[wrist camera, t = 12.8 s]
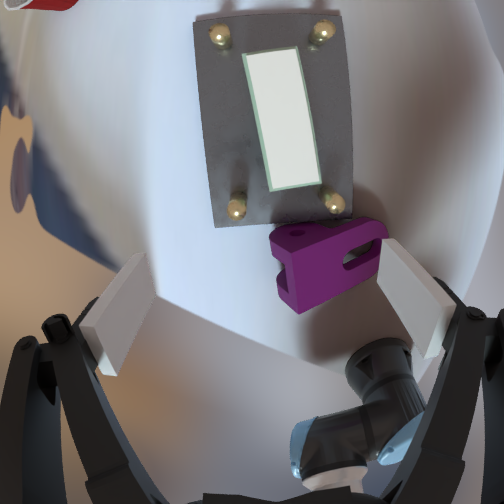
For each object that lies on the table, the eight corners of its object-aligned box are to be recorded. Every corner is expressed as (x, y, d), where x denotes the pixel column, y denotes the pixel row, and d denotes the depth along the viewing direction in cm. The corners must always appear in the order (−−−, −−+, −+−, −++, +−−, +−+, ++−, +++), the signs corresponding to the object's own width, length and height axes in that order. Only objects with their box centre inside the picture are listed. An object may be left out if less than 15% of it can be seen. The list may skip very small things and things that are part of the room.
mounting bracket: (352, 201, 48) (259, 233, 42) (389, 213, 41) (290, 252, 35) (354, 251, 52) (269, 288, 46) (387, 267, 45) (298, 314, 39)
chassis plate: (348, 215, 43) (362, 231, 37) (216, 224, 44) (210, 242, 38) (338, 19, 30) (352, 4, 24) (194, 25, 31) (184, 10, 25)
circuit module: (310, 171, 39) (323, 185, 31) (266, 179, 39) (270, 193, 32) (289, 58, 32) (298, 44, 25) (243, 65, 32) (241, 52, 25)
